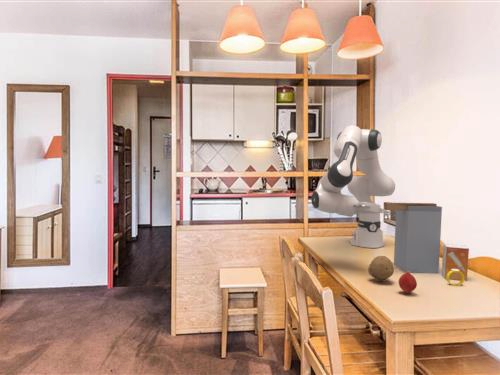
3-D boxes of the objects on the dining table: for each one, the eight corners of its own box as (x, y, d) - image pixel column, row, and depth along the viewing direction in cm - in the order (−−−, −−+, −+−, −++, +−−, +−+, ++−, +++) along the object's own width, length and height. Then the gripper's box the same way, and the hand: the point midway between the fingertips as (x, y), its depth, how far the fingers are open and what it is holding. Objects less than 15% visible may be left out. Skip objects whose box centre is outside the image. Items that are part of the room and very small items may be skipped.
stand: (393, 265, 166) (396, 203, 164) (424, 265, 166) (427, 203, 165) (405, 272, 154) (408, 206, 152) (438, 273, 154) (441, 206, 153)
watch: (449, 286, 138) (448, 271, 138) (445, 284, 141) (445, 268, 141) (465, 286, 138) (465, 270, 138) (461, 283, 141) (461, 268, 140)
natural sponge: (398, 285, 138) (399, 258, 137) (376, 286, 136) (377, 259, 136) (385, 277, 147) (386, 253, 146) (365, 278, 145) (365, 253, 145)
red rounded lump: (395, 290, 131) (396, 268, 131) (410, 290, 132) (411, 268, 131) (403, 296, 126) (404, 273, 125) (419, 296, 126) (420, 273, 126)
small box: (444, 278, 147) (446, 246, 146) (441, 274, 153) (443, 243, 152) (467, 281, 144) (469, 248, 144) (463, 276, 150) (465, 245, 150)
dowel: (384, 209, 157) (384, 202, 157) (432, 210, 158) (432, 203, 157) (386, 210, 154) (387, 203, 154) (436, 211, 155) (436, 204, 154)
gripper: (362, 197, 147) (392, 203, 150) (339, 199, 167) (366, 205, 170) (360, 213, 147) (390, 218, 149) (337, 213, 166) (364, 218, 169)
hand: (377, 211), depth 160 cm, fingers open, 8 cm apart
